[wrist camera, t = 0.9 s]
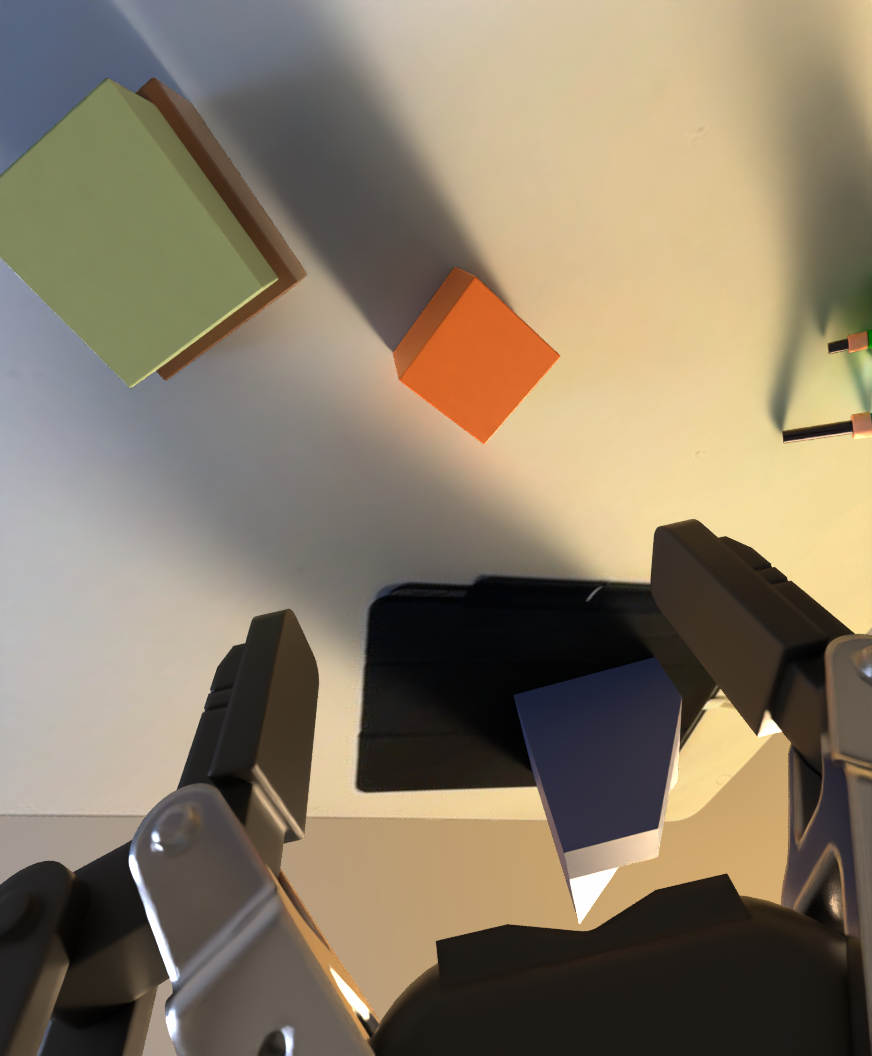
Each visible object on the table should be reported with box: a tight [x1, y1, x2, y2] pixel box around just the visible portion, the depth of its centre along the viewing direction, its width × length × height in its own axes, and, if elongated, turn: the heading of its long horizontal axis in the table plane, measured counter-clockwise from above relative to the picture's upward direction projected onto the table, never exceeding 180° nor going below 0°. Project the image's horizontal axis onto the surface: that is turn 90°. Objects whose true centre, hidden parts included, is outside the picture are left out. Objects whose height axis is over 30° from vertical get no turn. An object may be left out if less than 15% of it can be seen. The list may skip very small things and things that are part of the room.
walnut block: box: [136, 77, 307, 380], centre depth 20 cm, size 7×7×4 cm
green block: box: [0, 78, 278, 388], centre depth 16 cm, size 6×6×4 cm
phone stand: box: [514, 657, 682, 924], centre depth 38 cm, size 12×12×12 cm
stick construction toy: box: [782, 330, 872, 443], centre depth 27 cm, size 12×7×8 cm
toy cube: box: [393, 267, 560, 444], centre depth 23 cm, size 5×5×5 cm
